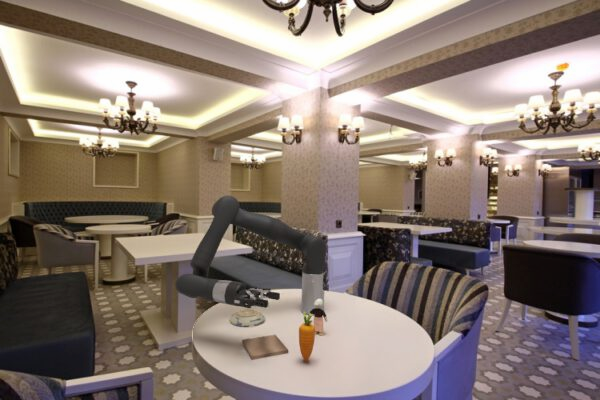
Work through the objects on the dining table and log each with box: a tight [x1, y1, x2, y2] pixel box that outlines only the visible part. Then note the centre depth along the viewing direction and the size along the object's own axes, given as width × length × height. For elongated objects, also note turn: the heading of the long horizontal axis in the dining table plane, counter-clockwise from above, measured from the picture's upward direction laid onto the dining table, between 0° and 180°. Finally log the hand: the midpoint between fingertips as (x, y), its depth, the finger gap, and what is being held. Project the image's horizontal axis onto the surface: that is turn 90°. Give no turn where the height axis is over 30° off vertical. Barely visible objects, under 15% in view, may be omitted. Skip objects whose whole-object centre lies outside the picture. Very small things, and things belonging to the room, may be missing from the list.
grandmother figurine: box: [308, 299, 329, 336], centre depth 115 cm, size 8×4×13 cm, turn 71°
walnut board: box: [241, 334, 289, 361], centre depth 102 cm, size 12×12×1 cm
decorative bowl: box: [228, 308, 267, 328], centre depth 126 cm, size 15×4×15 cm
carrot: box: [298, 312, 316, 363], centre depth 94 cm, size 5×5×15 cm
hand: (273, 300), depth 98 cm, fingers open, 8 cm apart
